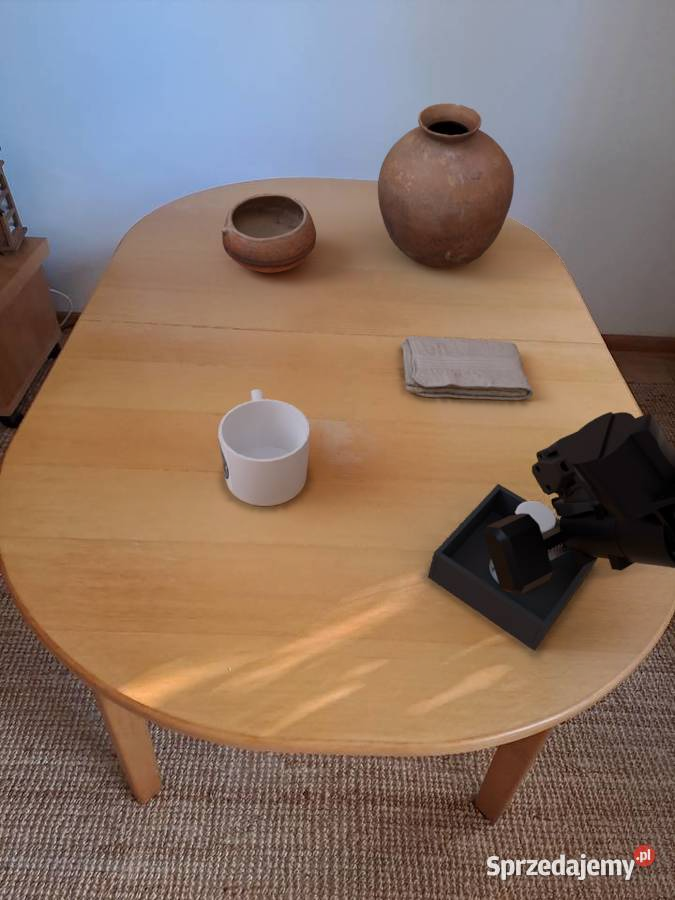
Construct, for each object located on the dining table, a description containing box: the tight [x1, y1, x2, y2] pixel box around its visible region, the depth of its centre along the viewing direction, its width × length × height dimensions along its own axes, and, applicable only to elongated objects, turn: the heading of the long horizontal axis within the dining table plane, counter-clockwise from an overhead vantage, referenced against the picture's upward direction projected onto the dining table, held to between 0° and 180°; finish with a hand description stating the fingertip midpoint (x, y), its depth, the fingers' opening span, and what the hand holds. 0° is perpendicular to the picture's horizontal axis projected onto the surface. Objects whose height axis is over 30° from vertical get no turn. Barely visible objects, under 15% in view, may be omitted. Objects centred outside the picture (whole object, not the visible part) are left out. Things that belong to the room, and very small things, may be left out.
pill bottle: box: [490, 500, 557, 583], centre depth 70 cm, size 5×5×10 cm
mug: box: [217, 388, 311, 507], centre depth 80 cm, size 13×10×8 cm
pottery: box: [377, 103, 515, 267], centre depth 114 cm, size 23×23×25 cm
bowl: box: [221, 192, 317, 273], centre depth 114 cm, size 16×16×10 cm
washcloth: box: [400, 335, 534, 401], centre depth 97 cm, size 12×18×3 cm, turn 91°
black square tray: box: [427, 483, 599, 652], centre depth 72 cm, size 13×13×4 cm
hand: (519, 519), depth 69 cm, fingers open, 9 cm apart
